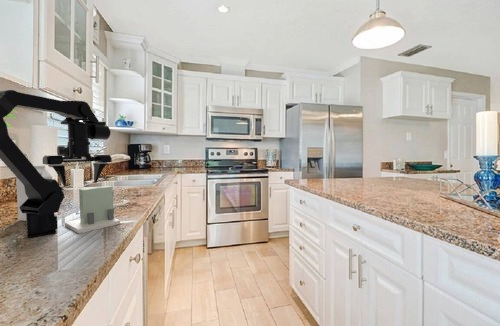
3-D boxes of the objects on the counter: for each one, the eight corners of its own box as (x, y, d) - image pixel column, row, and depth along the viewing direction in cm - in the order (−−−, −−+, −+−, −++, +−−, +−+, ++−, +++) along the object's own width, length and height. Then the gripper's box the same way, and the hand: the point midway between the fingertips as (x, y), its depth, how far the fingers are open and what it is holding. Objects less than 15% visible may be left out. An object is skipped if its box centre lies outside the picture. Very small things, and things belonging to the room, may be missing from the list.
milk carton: (18, 220, 86) (15, 166, 85) (40, 215, 93) (38, 165, 91) (32, 222, 84) (29, 167, 83) (54, 216, 90) (51, 165, 89)
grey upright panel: (83, 224, 78) (82, 190, 77) (80, 222, 80) (79, 189, 79) (114, 217, 85) (113, 186, 85) (110, 216, 87) (109, 185, 86)
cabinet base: (78, 233, 73) (78, 218, 72) (65, 225, 80) (64, 211, 80) (120, 223, 82) (119, 210, 82) (104, 217, 90) (104, 204, 89)
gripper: (98, 140, 95) (100, 179, 96) (36, 138, 81) (39, 185, 82) (111, 139, 89) (113, 182, 90) (46, 137, 74) (49, 188, 75)
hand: (80, 184), depth 84 cm, fingers open, 9 cm apart
